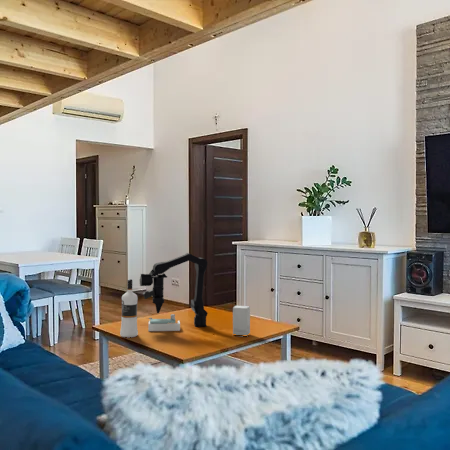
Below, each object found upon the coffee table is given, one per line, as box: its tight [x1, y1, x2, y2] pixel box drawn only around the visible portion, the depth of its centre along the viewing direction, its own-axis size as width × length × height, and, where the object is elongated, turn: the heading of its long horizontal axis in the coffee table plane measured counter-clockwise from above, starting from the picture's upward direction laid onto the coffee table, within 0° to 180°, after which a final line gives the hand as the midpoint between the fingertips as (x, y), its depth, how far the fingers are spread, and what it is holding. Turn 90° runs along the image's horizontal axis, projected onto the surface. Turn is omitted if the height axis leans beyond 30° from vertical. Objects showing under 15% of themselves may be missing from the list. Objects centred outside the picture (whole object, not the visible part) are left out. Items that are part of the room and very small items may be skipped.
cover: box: [148, 313, 177, 323], centre depth 263 cm, size 15×8×4 cm, turn 98°
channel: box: [147, 320, 181, 332], centre depth 263 cm, size 18×8×4 cm, turn 98°
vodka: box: [119, 279, 139, 339], centre depth 248 cm, size 9×9×30 cm
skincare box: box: [232, 305, 251, 335], centre depth 254 cm, size 8×7×16 cm
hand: (157, 313), depth 264 cm, fingers closed
